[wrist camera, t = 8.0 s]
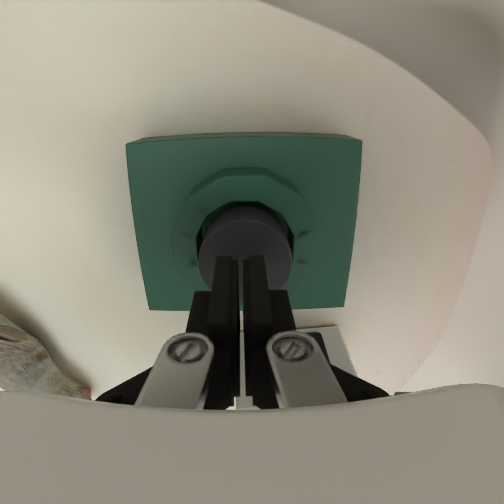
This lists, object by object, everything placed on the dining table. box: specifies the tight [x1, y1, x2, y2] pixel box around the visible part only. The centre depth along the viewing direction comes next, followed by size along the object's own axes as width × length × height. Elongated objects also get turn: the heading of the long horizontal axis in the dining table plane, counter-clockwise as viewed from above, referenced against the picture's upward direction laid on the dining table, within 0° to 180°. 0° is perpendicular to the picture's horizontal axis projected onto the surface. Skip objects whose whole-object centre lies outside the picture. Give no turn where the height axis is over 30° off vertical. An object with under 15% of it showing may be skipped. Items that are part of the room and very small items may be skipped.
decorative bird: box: [0, 314, 91, 398], centre depth 21 cm, size 5×16×8 cm, turn 35°
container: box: [236, 326, 358, 410], centre depth 19 cm, size 8×8×13 cm
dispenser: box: [126, 132, 362, 311], centre depth 17 cm, size 12×10×5 cm
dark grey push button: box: [198, 205, 292, 303], centre depth 15 cm, size 4×4×2 cm
